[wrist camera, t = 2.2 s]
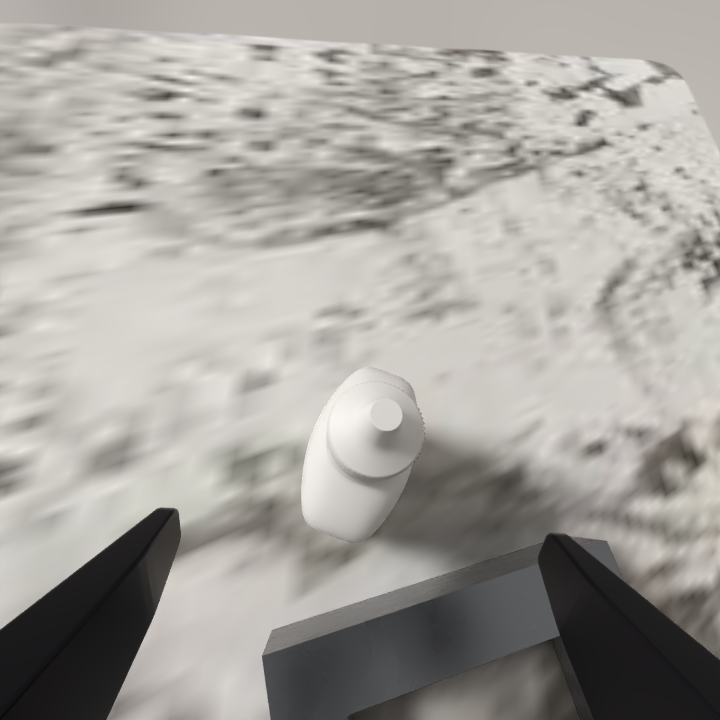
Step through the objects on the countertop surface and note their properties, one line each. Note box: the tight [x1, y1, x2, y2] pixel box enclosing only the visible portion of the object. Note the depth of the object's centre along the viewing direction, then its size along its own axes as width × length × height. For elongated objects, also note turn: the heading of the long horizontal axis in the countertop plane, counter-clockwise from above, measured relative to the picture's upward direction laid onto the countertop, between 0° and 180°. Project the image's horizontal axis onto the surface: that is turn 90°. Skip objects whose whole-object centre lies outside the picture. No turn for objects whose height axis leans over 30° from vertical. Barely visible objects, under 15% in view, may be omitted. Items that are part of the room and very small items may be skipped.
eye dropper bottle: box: [301, 367, 425, 543], centre depth 13 cm, size 4×6×12 cm
